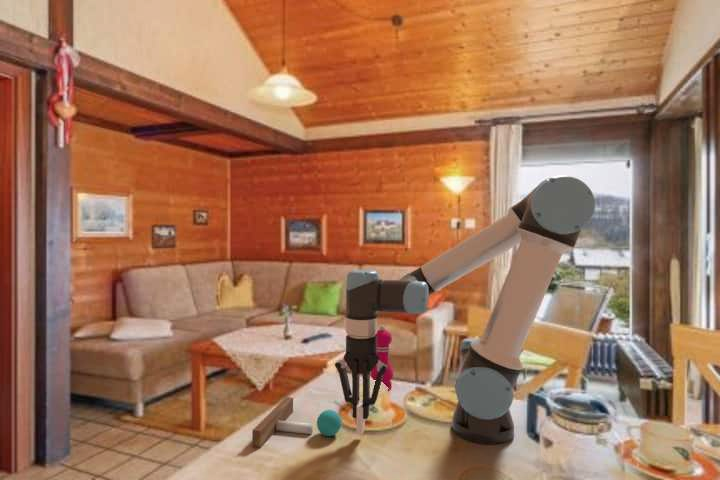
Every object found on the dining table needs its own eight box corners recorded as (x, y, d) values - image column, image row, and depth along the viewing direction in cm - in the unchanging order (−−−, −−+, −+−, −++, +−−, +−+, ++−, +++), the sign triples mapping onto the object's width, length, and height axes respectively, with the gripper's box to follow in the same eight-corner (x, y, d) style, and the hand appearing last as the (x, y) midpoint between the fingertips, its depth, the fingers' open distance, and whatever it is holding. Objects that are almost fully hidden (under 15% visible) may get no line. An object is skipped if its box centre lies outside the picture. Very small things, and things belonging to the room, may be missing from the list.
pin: (313, 421, 109) (279, 418, 111) (310, 428, 107) (275, 425, 108) (313, 429, 110) (279, 426, 111) (311, 436, 107) (276, 432, 109)
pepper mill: (391, 392, 135) (392, 328, 134) (368, 390, 136) (369, 327, 135) (394, 384, 142) (395, 323, 141) (372, 382, 143) (373, 322, 143)
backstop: (293, 412, 120) (293, 397, 120) (260, 448, 101) (260, 431, 101) (286, 411, 121) (286, 397, 121) (252, 447, 101) (252, 430, 101)
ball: (318, 407, 111) (324, 430, 111) (310, 418, 105) (317, 442, 105) (340, 403, 110) (346, 427, 110) (333, 414, 104) (340, 438, 104)
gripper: (390, 332, 107) (389, 427, 108) (339, 329, 110) (339, 421, 111) (385, 340, 100) (384, 441, 100) (330, 336, 103) (330, 435, 103)
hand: (360, 430), depth 106 cm, fingers closed
